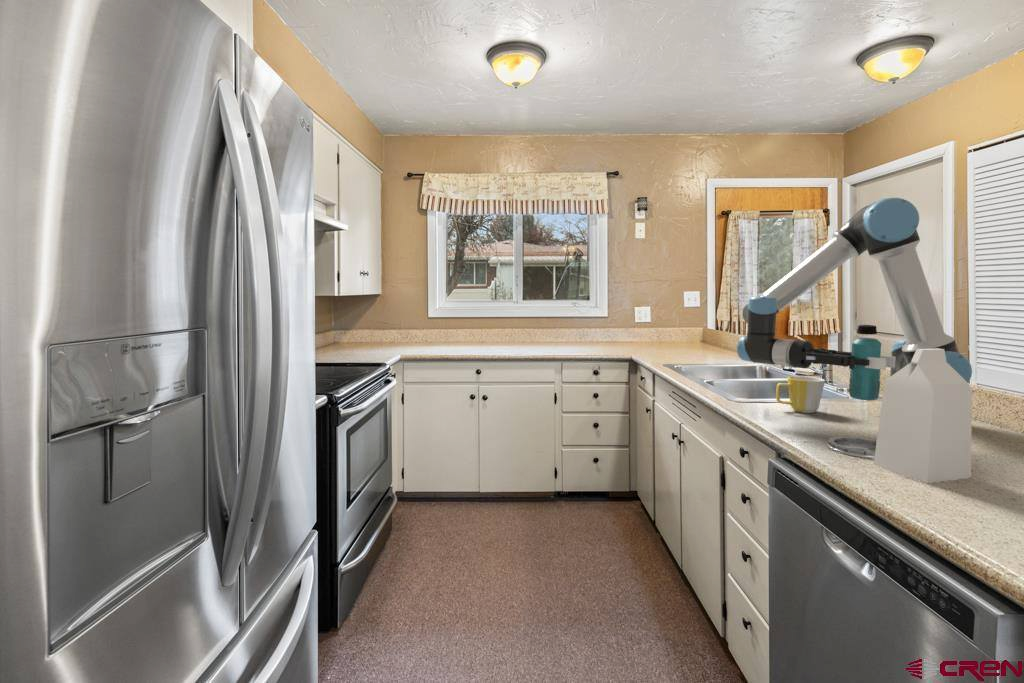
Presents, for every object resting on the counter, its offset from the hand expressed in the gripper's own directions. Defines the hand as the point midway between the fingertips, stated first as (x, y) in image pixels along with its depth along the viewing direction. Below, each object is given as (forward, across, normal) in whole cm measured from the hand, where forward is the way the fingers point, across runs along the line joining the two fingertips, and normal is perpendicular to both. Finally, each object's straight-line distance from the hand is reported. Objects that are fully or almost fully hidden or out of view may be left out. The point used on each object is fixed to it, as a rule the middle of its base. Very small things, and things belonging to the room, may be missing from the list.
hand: (889, 363), depth 132 cm
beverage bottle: (-5, 0, -11) cm, 12 cm away
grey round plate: (-1, +10, -20) cm, 23 cm away
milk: (+13, +17, -20) cm, 30 cm away
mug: (-30, -20, -20) cm, 41 cm away
